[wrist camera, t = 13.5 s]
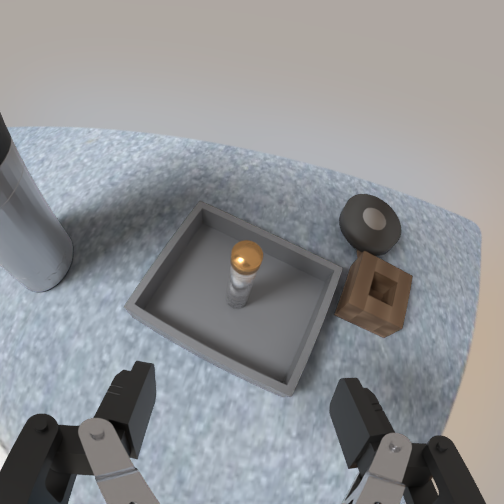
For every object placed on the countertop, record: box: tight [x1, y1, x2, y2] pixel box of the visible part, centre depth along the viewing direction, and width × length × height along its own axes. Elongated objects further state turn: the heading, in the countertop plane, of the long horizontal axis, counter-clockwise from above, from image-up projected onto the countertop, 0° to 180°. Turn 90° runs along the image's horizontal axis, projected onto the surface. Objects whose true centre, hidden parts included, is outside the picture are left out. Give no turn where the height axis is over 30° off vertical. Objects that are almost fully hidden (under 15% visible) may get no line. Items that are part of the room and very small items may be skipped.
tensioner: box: [334, 194, 412, 338], centre depth 33 cm, size 11×16×5 cm
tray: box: [124, 201, 343, 397], centre depth 30 cm, size 18×15×4 cm
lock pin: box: [226, 240, 263, 309], centre depth 26 cm, size 2×2×10 cm
